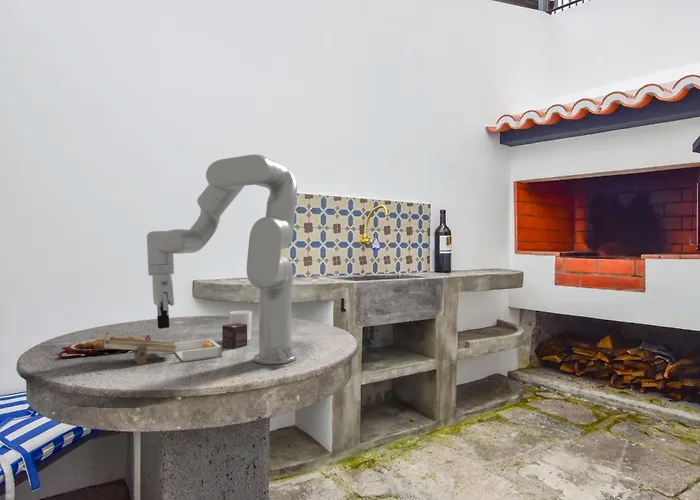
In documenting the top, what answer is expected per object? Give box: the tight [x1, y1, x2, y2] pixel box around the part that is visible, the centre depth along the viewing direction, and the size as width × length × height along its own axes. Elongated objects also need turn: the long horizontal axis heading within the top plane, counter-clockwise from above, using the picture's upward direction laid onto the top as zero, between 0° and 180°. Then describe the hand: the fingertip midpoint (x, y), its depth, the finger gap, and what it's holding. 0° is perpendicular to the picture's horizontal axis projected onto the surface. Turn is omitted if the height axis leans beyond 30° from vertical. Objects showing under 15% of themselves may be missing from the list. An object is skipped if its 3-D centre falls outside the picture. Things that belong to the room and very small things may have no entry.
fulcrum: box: [133, 346, 148, 366], centre depth 136 cm, size 8×2×5 cm, turn 31°
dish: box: [173, 338, 223, 363], centre depth 144 cm, size 14×12×3 cm
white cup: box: [229, 310, 253, 341], centre depth 166 cm, size 8×8×10 cm
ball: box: [202, 342, 212, 348], centre depth 146 cm, size 3×3×3 cm
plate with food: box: [58, 334, 151, 358], centre depth 155 cm, size 25×26×4 cm
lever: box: [104, 331, 176, 354], centre depth 139 cm, size 13×19×4 cm, turn 121°
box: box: [221, 323, 248, 350], centre depth 156 cm, size 6×6×7 cm
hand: (163, 327), depth 145 cm, fingers closed
